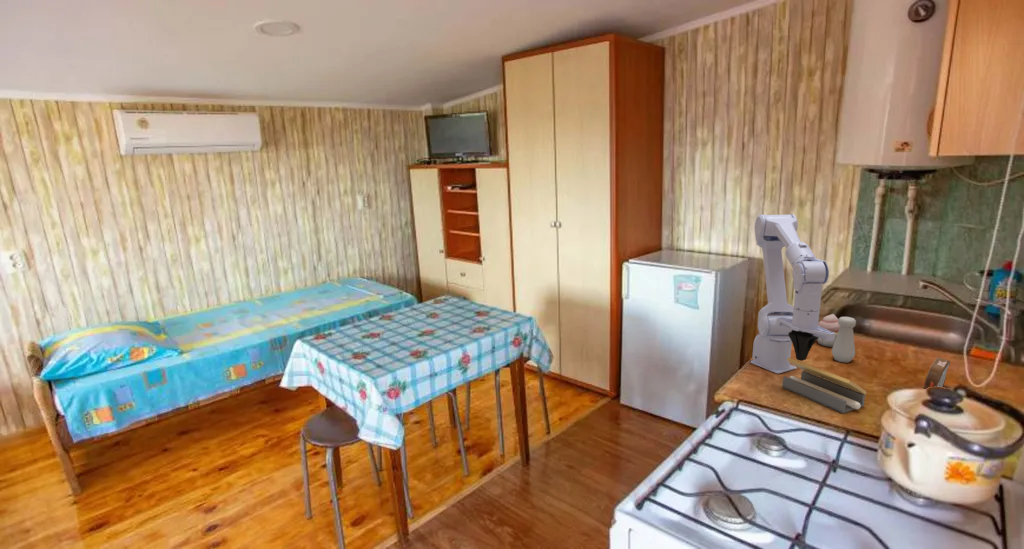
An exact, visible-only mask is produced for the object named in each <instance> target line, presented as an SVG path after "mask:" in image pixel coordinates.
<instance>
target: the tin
mask: <svg viewBox="0 0 1024 549" xmlns="http://www.w3.org/2000/svg"><path fill="white" fill-rule="evenodd" d="M950 365H951V361H950V360H949V359H945V358H942V357H939V356H937V357H936V359H934V361H933V362H932V364H930V367H929V370H928V372H927V374H926V376H925V381H924V384H923V389H926V388H928V387H934V386H936V387H943V388H944V384H945V382H946V380H947V372H948V369H949V367H950ZM923 389H922V390H923Z"/></svg>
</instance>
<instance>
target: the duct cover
mask: <svg viewBox="0 0 1024 549" xmlns="http://www.w3.org/2000/svg"><path fill="white" fill-rule="evenodd" d="M788 361H789V362H790V363H791V365H793V366H796V367H798V368H799V369H800V370H802V371H805V372H808V373H810V374H813V375H816V376H818V377H821V378H823V379H826V380H829V381H831V382H834V383H836V384H839V385H842V386H844V387H847V388H849V389H852V390H855V391H857V392H860V393H862V394H865V395H866V394H867V390H865V389H863V387H861V386H859V385H858V384H856V383H855V382H853V381H852V380H851V379H847V378H845V377H842V376H840V375H838V374H834V373H831V372H829V371H826V370H824V369H821V368H818V367H815V366H813V365H810V364H807V363H804V362H803V361H800V360H797V359H793V358H791V357H790V358H788Z"/></svg>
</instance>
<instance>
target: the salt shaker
mask: <svg viewBox="0 0 1024 549" xmlns="http://www.w3.org/2000/svg"><path fill="white" fill-rule="evenodd" d="M838 319H839V320H838V324H839V325H840V329H839V332H838V334H837V337H836V340H835V343H834V345H833V347H831V354H832V355H833V360H834V361H836V362H839V363H846V364H847V363H848V364H849V363H851V361H852V360H853V359H854V357H855V356H856V347H855V337H854V328H855V326H856V325H857V320H856V319H855V318H854V317H850V316H840V317H839V318H838Z"/></svg>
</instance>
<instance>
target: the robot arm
mask: <svg viewBox="0 0 1024 549" xmlns="http://www.w3.org/2000/svg"><path fill="white" fill-rule="evenodd" d="M798 222H799V221H798V218H797V216H796V215H795V214H794V213H789V214H763V213H762V214H758V216H757V217H756V219H755V222H754V236H755V242H756V245H757V246H758V247H760V248H761V249H762V250H761V252H762V258H763V259H762V260H763V267H764V278H765V287H766V297H767V304H766V305H764V306H763V307H761V309H760V310H759V311H758V313H757V314H758V320H757V329H758V330H757V331H758V333H757V335H756V336H755V338H754V340H753V343H752V344H753V345H752V355H751V356H752V357H751V358H752V359H753V358H754V357H755V358H754V359H753V360H752V359H751V360H750V361H751V362H750V361H749V363H751V364H753V365H755V366H758V367H760V368H763V369H765V370H767V371H769V372H772V373H775V374H776V375H777V374H778V375H779V374H782V373H785V372H788V371H790V372H791V371H792V370H793V371H794V370H795V369H796V370H797V369H798V368H797V366H795V365H794V364H792V363H791V362H789V361H788V358H791V355H792V346H793V348H794V349H793V350H794V353H795V360H797V361H799V362H803V361H805V360H807V358H808V355H809V353H810V351H811V349H812V348H813V346H814V344H815V343H816V341H818V340H817V339H818V338H822V339H826V341H829V342H830V341H834V340H835V333H834V332H831V331H829V330H827V329H825V328H822V327H820V326H818V323H819V322H820V321H819V320H820V309H821V301H822V292H823V285H824V284H826V283H827V282H828V280H829V277H830V269H829V266H828V264H827V261H826V260H824V259H823V260H822V259H820V258H817V257H816V255H815V253H814V252H813V250H812V249H811V247H810V246H809V245H808V243H806V242H803V241H801V239H800V237H799V235H798V232H797V231H798V227H799V224H798ZM784 247H785V248H786V250H785V252H784V253H785V257H786V258H787V260H788V263H789V264H790V266H791V267H792V279H793V283H792V284H793V285H792V287H793V290H794V299H793V306H792V305H791V304H789V303H788V300H787V299H788V298H787V297H788V296H787V290H786V281H785V280H786V279H785V271H784V260H783V254H782V253H783V252H782V249H783V248H784ZM790 363H791V364H790Z"/></svg>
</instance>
